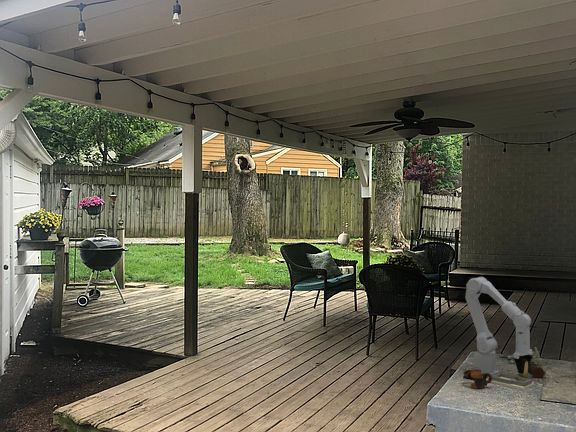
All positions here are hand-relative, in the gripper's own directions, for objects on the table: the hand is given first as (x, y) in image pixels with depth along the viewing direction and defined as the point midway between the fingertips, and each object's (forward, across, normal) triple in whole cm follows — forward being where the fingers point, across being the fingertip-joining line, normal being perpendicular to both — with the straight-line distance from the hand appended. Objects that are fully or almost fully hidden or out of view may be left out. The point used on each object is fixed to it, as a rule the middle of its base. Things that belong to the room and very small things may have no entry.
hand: (523, 372), depth 240 cm
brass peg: (+3, 0, 0) cm, 3 cm away
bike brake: (+3, +29, +14) cm, 33 cm away
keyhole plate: (+3, -11, 0) cm, 11 cm away
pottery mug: (+3, -25, +8) cm, 27 cm away
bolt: (+3, +12, 0) cm, 12 cm away
